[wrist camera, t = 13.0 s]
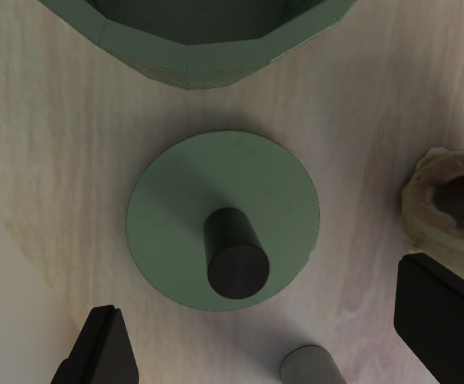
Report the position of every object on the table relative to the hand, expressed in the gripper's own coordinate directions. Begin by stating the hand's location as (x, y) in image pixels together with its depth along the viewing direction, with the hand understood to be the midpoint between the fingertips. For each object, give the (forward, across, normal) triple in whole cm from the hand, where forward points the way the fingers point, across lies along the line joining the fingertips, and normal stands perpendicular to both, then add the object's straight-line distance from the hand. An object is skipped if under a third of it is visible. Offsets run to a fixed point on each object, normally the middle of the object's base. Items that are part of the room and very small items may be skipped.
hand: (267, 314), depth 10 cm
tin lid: (+10, 0, +1) cm, 10 cm away
